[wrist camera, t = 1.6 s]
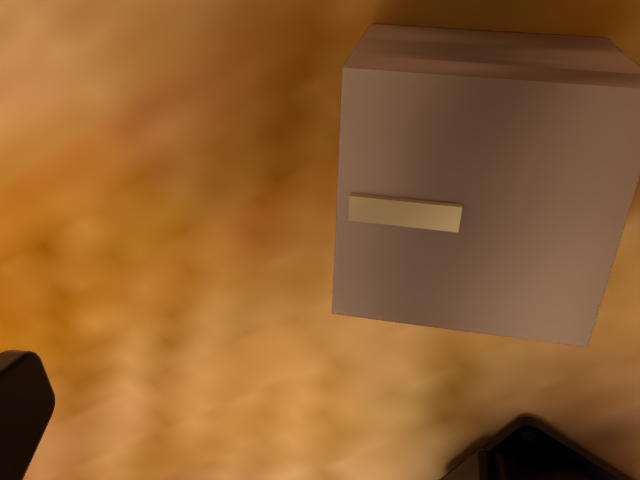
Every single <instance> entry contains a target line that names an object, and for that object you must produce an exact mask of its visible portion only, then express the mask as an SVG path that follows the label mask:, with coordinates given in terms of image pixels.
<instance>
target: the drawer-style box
mask: <svg viewBox="0 0 640 480" xmlns="http://www.w3.org/2000/svg"><path fill="white" fill-rule="evenodd" d="M639 177H640V67H639V66H638V65H637V64H635V63H634V62H633V61H632V60H631V59H630V58H629V57H628V56H626V55H625V54H624V53H623V52H622V51H621V50H620V49H619V48H617V47H616V46H615V45H614V44H613V43H612V42H611V41H610V40H608V39H607V38H603V37H587V36H570V35H553V34H536V33H520V32H503V31H486V30H470V29H453V28H436V27H419V26H403V25H386V24H370V26H369V27H368V29H367V30H366V32H365V34H364V35H363V37H362V38H361V40H360V41H359V43H358V44H357V46H356V47H355V49H354V51H353V52H352V54H351V55H350V57H349V58H348V60H347V61H346V63H345V64H344V66H343V68H342V90H341V113H340V137H339V160H338V183H337V206H336V230H335V253H334V276H333V300H332V314H337V315H345V316H353V317H360V318H368V319H375V320H383V321H391V322H398V323H406V324H413V325H421V326H428V327H436V328H444V329H451V330H459V331H466V332H474V333H481V334H489V335H497V336H504V337H512V338H519V339H527V340H535V341H542V342H550V343H557V344H565V345H572V346H580V347H588V344H589V340H590V337H591V334H592V331H593V327H594V324H595V321H596V317H597V314H598V311H599V308H600V304H601V301H602V298H603V295H604V291H605V288H606V285H607V282H608V278H609V275H610V272H611V269H612V265H613V262H614V259H615V255H616V252H617V249H618V246H619V242H620V239H621V236H622V233H623V229H624V226H625V223H626V220H627V216H628V213H629V210H630V207H631V203H632V200H633V197H634V193H635V190H636V187H637V184H638V180H639Z"/></svg>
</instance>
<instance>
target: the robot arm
mask: <svg viewBox="0 0 640 480" xmlns="http://www.w3.org/2000/svg"><path fill="white" fill-rule="evenodd" d="M54 407H55V395H54V392H53V389H52V386H51V384H50V381H49V379H48V376H47V374H46V371H45V368H44V366H43V363H42V361H41V359H40V357H39V356H38V355H37V354H36V353H34V352H31V351H18V350H9V351H4V352H2V353H0V480H23V478H24V476H25V473H26V471H27V469H28V467H29V465H30V462H31V460H32V458H33V456H34V454H35V451H36V449H37V447H38V445H39V443H40V440H41V438H42V436H43V434H44V432H45V429H46V427H47V425H48V423H49V420H50V418H51V416H52V414H53V411H54ZM524 431H532V432H530V433H525V432H524ZM442 480H632V479H631V478H629V477H627V476H626V475H624V474H623V473H621V472H619V471H618V470H616V469H615V468H613V467H611V466H610V465H608V464H607V463H605V462H603V461H602V460H600V459H599V458H597V457H595V456H594V455H592V454H591V453H589V452H587V451H586V450H584V449H583V448H581V447H579V446H578V445H576V444H575V443H573V442H571V441H570V440H568V439H567V438H565V437H563V436H562V435H560V434H559V433H557V432H555V431H554V430H552V429H551V428H549V427H547V426H546V425H544V424H543V423H541V422H539V421H538V420H536V419H534V418H530V417H524V418H520V419H518V420H516V421H515V422H513V423H512V424H511V425H510V426H509V427H507V428H506V429H505V430H504V431H502V432H501V433H500V434H499V435H498V436H496V437H495V438H494V439H493V440H491V441H490V442H489V443H488V444H486V445H485V446H484V447H483V448H482V449H480V450H478V451H476V452H475V453H473V454H472V455H471V456H470V457H469V458H467V459H466V460H465V461H464V462H463V463H461V464H460V465H459V466H458V467H456V468H455V469H454V470H453V471H452V472H450V473H449V474H448V475H447V476H445V477H444V478H443V479H442Z"/></svg>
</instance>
